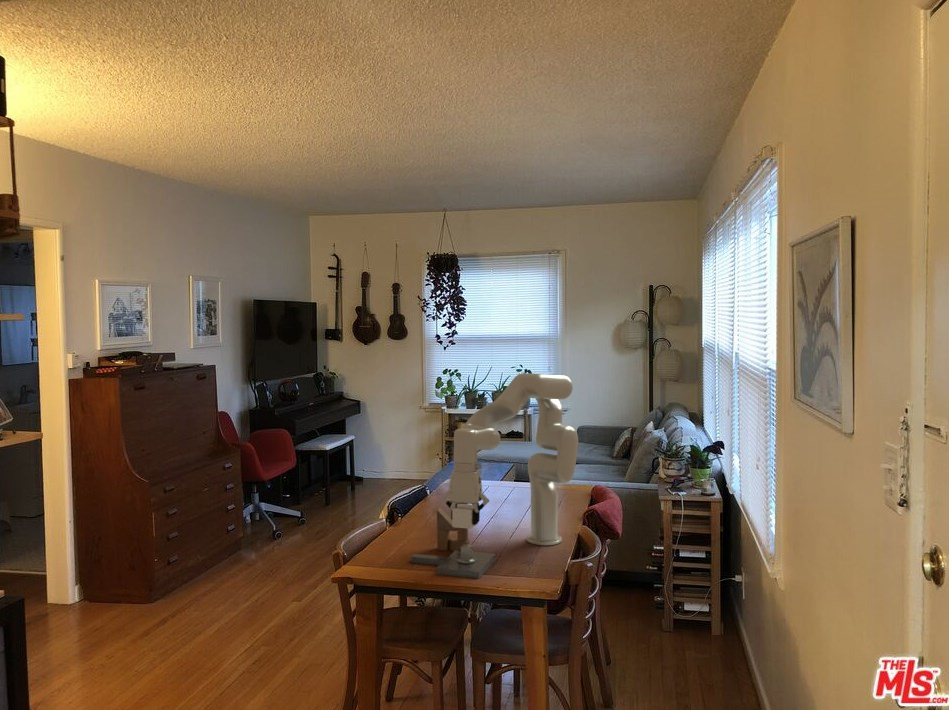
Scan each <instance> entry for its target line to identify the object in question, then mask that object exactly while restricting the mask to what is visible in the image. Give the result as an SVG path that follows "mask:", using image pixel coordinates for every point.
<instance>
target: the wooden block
mask: <svg viewBox="0 0 949 710" xmlns="http://www.w3.org/2000/svg"><path fill="white" fill-rule="evenodd" d="M458 504H467V503H458ZM458 504H457V505H458ZM436 522H437V523H436V529H437V530H436V532H437V533H436V535H437V538H436V540H437V544H436V545H437V546H436V547H437V548H436V549H437V551H448V550H449V551H452V552H454V551H455V550H460V551H461V546H462V545H463V544H468V545H470V538H469V529H467V528H457V527H452V519H451V516H449V515H448V514H447V513H446V512H445V511H444V510H443V509H442V507H438V508H437V509H436ZM456 531H457V537H450V532H456Z"/></svg>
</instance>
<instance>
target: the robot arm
mask: <svg viewBox="0 0 949 710" xmlns="http://www.w3.org/2000/svg"><path fill="white" fill-rule="evenodd" d="M573 389H574V388H573V382H572V380H571V379H570V378H569V377H568V376H567V375H563V374H561V375H560V374H544V373H532V372H531V373H527V372H526V373H524V372H523V373H518V374H517V375H516V376H515V377H513V379H512V380H511V381H510V383H509V384H508V385H507V386H506V387H505V389H504V390H503V391H502V392H501V394H500V395H499V396H498V398H496V400H494V401H492V402H490V403H488V404H487V405H485V406H483V407H482V408H480V409H478V410H477V411H475V412H474V413H473V414H472V415H471V416H470V417H469V419H468V420H467V421H466V422H465V424H464V425H463V426H462V427H461V428H457V429H455V430H454V433H453V470H452V471H451V475H450V479H449V489H448V491H447V492H446V493H445V494H444V495H442V497H441V499H442V501H444V503H445V504H446V506H447V507H448V508H449V510H450V519H451V520H452V509H453V508H454V507H455V506H457V504H458V503H467V504H468V505H473V508H474V513H473V524H474V525H476V524H477V523H478V524H479V522H480V521H481V520H480V514H481V513H480V512H481V510H482V509H484V508H485V507H486V506H487V505H488V504H489V502H490V499H489V498H488V497H487V496H486V495H485V493H483V484H482V477H481V472H480V471H479V470H481V469H482V464H479V461H478V452H479V451H492V450H494V449H496V448H497V447H499V445H500V442H501V435H500V432H499V431H498V430H497V429H496V428H493V427H492V425H493V424H494V425H495V424H497V423H500V422H505V421H508V420H510V419H513V418H515V417H516V416H518V414H519V413H520V411H521V410H522V408H524V406H525V405H526V403H528V401H529V400H531V399H535V400H536V402H537V406H538V419H537V426H536V435H535V442H536V445H537V447H539V448H540V449H543V450H548V451H553V452H557V454H554V453H546V452H538V453H534V454H533V455H531V456H530V457H529V459H528V462H527V471H528V477H529V484H530V485H529V486H530V533H529V534H528V535H526V541H527V542H528V543H530V544H532V545H537V546H554V545H558V544H560V543H561V542H562V541H563V539H562V536H561V534H558V491H557V487H556V483H557V484H561V485H562V484H563V485H565V484H568V483H569V482H571V481H572V479H574V478H573V477H574V476H575V475H574V474H575V470H576V463H577V456H578V451H579V450H578V449H579V435H578V432H577V431H576V429H575V428H574V427H572V426H570V425H567V424H563V407H562V403H561V401H560V400H565V399H568V398H569V397H570V395H572V393H573ZM481 501H482V503H481V504H480V503H479V502H481ZM478 524H477V525H478Z"/></svg>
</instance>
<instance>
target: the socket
mask: <svg viewBox="0 0 949 710" xmlns="http://www.w3.org/2000/svg"><path fill="white" fill-rule="evenodd" d="M473 513H474V508H473V505H472V504H458V505H457V506H455V507H454V508H453V509H452V519H451V520H452V527H457V528H467V529H468V530H469V529H470V530H473V529H474V527H476V525H478V524H479V522H478V523H477V524H476V525H474V524H473Z"/></svg>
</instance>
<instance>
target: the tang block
mask: <svg viewBox="0 0 949 710" xmlns="http://www.w3.org/2000/svg"><path fill="white" fill-rule="evenodd" d="M473 548H474V547H473V544H469V545H468V544H463V545H462V546H461V551H460V550H455V551H452V553H451V554H449V556H441V555H440V556H439V555H432V554H431V555H430V554H420V553H414V554H412V555H410V563H412V564H418V565H419V564H421V565H422V564H423V565H431V566H437V567H436V571H435V572H436V575H443V576H450V577H452V576H453V577H461V578H471V579H479V580H480V578H481V577H482V576H483V575H484V574H485V573H486V572H487V570H488V569H489V568H490V567H491V566H492V564H493V563H494V562H495V561H496V555H497V554H496V553H489V552H482V551H481V552H480V551H479V552H478V551H473Z"/></svg>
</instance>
